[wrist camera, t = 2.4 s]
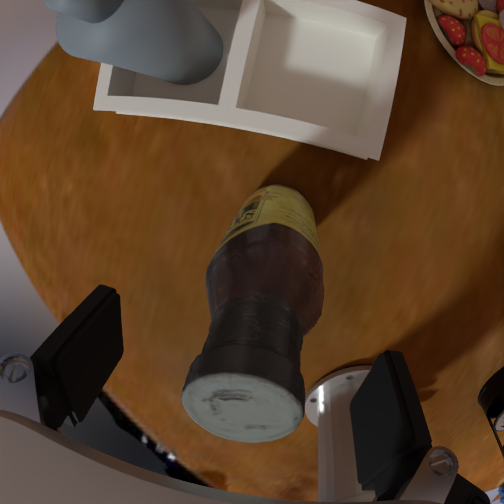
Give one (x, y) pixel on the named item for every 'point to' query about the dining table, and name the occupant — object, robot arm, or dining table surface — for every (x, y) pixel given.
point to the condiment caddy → (245, 64)
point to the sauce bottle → (258, 320)
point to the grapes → (501, 493)
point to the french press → (494, 403)
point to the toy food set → (471, 35)
